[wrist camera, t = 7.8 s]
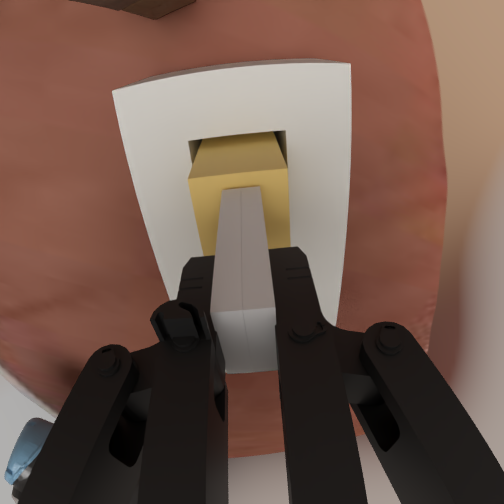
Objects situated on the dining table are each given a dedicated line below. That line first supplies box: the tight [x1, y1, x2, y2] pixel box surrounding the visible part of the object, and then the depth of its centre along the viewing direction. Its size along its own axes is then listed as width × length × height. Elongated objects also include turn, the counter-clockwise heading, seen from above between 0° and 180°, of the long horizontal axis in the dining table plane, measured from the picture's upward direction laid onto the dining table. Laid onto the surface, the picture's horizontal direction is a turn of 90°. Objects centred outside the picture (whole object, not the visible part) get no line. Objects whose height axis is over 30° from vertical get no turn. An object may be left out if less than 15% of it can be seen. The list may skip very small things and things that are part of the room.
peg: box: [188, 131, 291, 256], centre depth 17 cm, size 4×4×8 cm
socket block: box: [112, 58, 351, 372], centre depth 24 cm, size 24×12×8 cm, turn 5°
